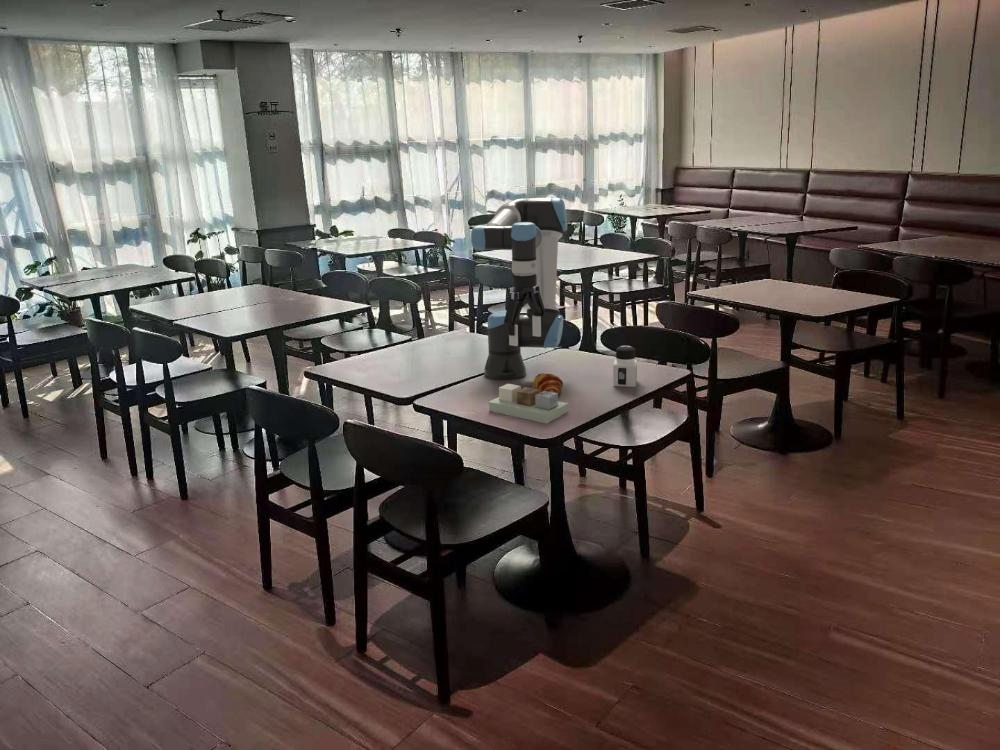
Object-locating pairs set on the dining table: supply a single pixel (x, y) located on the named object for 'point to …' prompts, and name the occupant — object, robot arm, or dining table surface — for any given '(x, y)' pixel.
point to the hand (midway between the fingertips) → (525, 340)
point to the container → (625, 367)
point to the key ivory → (508, 392)
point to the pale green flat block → (528, 410)
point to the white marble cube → (546, 400)
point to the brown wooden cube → (527, 396)
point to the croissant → (547, 383)
